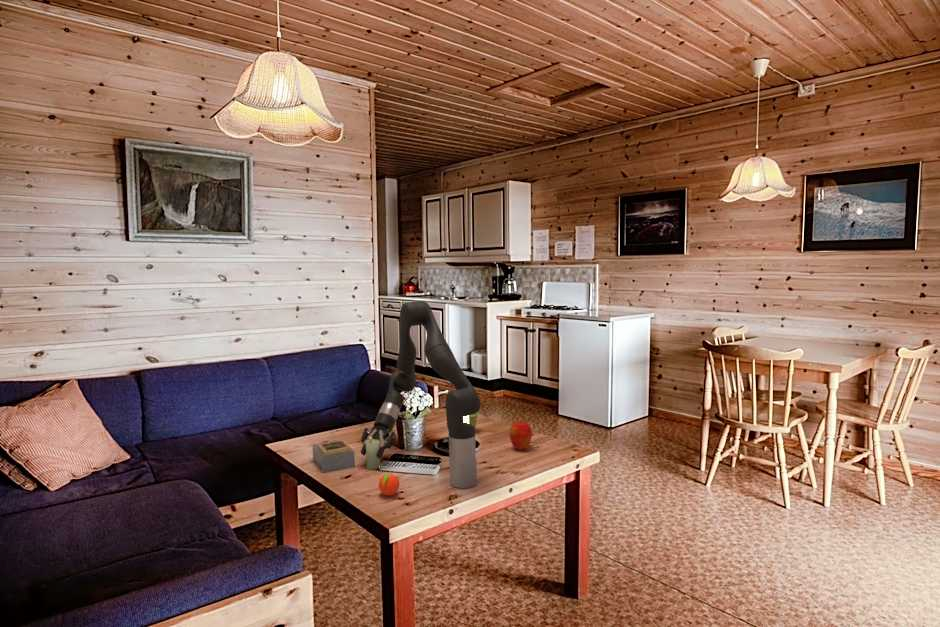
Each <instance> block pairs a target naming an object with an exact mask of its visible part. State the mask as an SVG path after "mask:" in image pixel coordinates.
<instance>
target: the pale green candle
mask: <svg viewBox="0 0 940 627" xmlns="http://www.w3.org/2000/svg"><path fill="white" fill-rule="evenodd" d="M379 447H381V442H380V440H378V439H373V438H372V437H369V440H367V441H366V454H365V456H366V457H365V459H366V461H365V464H366V469H368V470H378V469H380V468H379V466H380V467H381V458H378V457H377V456H376V454H377V452H378V450H379Z"/></svg>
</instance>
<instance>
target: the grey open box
mask: <svg viewBox="0 0 940 627" xmlns="http://www.w3.org/2000/svg"><path fill="white" fill-rule="evenodd" d="M311 449H312V460H313V461H314V463H315V464H316V465H317V467H318V468H319V469H320V471H321V472H322V473H323V474H325V473H329V472H333V471H339V470H344V469H349V468H354V467H356V463H355V461H356V460H355V450H354V449H352V447H351V446H350V445H349V444H348V443H347V442H346V441H345V440H344V439H337V440H332V441H326V442H321V443H315V444H314V443H313V444H312V447H311Z"/></svg>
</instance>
